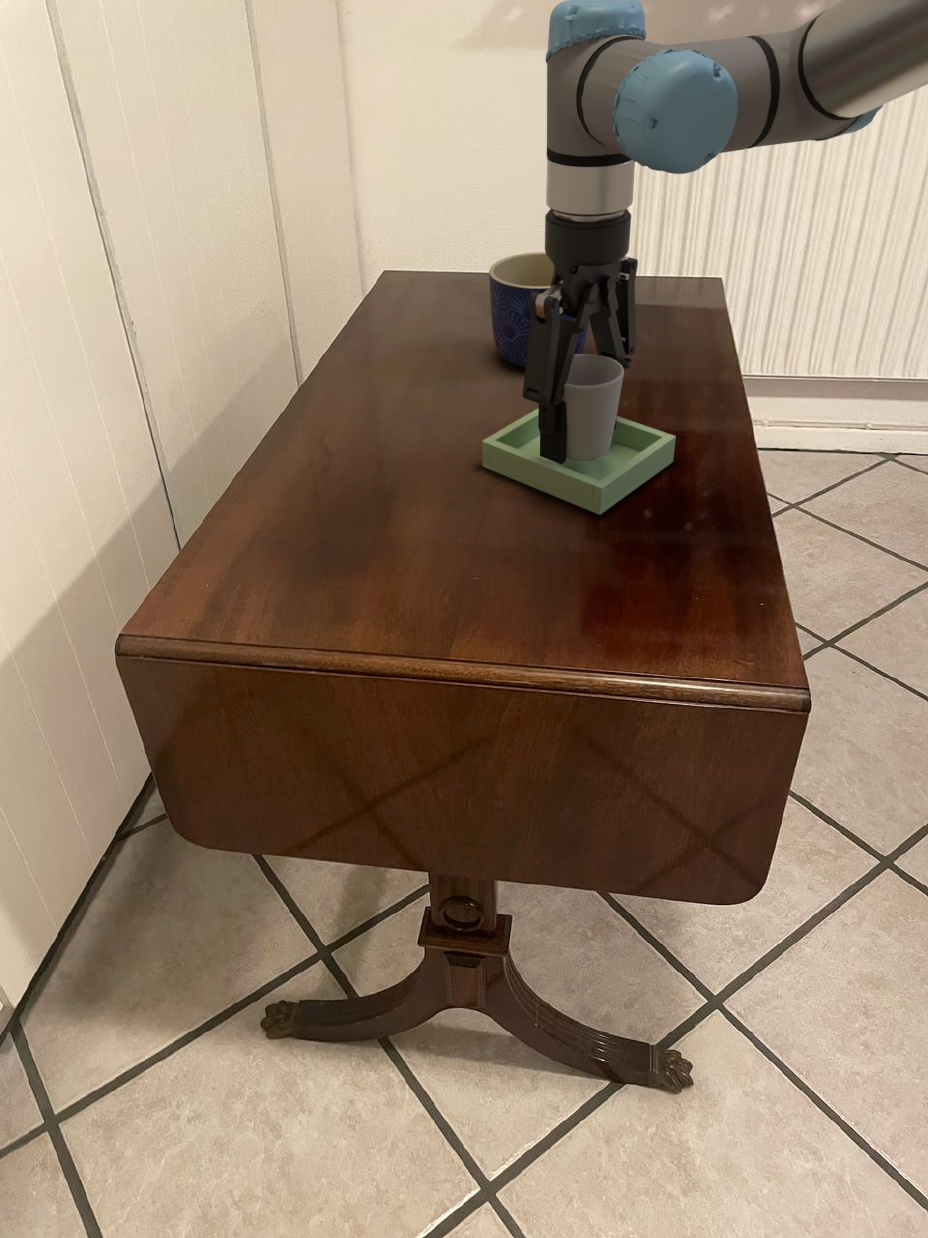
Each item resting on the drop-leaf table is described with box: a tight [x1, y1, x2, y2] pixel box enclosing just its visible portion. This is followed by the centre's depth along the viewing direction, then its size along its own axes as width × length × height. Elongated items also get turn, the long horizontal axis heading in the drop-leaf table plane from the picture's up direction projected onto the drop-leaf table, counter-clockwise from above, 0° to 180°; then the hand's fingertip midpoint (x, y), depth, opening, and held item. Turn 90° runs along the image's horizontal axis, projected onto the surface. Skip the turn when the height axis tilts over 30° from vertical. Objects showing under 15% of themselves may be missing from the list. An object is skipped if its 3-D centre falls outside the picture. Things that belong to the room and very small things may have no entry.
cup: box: [552, 353, 625, 461], centre depth 95 cm, size 8×10×8 cm
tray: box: [481, 407, 677, 515], centre depth 98 cm, size 15×13×3 cm
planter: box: [488, 251, 590, 368], centre depth 117 cm, size 12×12×11 cm
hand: (578, 441), depth 97 cm, fingers closed on cup, 8 cm apart
